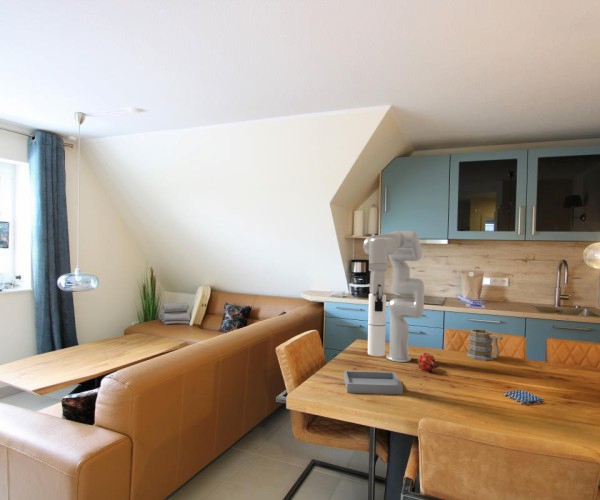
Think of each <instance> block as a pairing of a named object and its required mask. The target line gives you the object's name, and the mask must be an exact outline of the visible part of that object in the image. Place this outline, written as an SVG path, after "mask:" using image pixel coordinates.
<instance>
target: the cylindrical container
mask: <svg viewBox="0 0 600 500" xmlns="http://www.w3.org/2000/svg"><path fill="white" fill-rule="evenodd" d="M377 297H378V296H377ZM382 297H383V311H382V312H380V311H375V301H376V299H375V294H374V295H372V294H371V293H368V312H367V313H368V314H367V315H368V318H367V323H368V325H367V327H368V329H367V355H369V356H372V357H385V355H386V328H387V326H386V323H387V322H386V320H387V319H386V318H387V317H386V315H387V311H386V310H387V294H386V293H384V295H382Z"/></svg>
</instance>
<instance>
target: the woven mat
mask: <svg viewBox="0 0 600 500" xmlns="http://www.w3.org/2000/svg"><path fill="white" fill-rule="evenodd" d="M503 397H507V398H508V399H510V400H512V401H513V402H516V403H519V404H521V405H523V406H531V405H532V406H533V405H537V404H538V405H540V404H545V400H544V398H541V397H539V396H537V395H535V394H532V393H530V392H528V391H526V390H522V389H519V390H518V389H516V390H513V391H512V390H510V391H509V390H508V391H507V392H506V391H503Z"/></svg>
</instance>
